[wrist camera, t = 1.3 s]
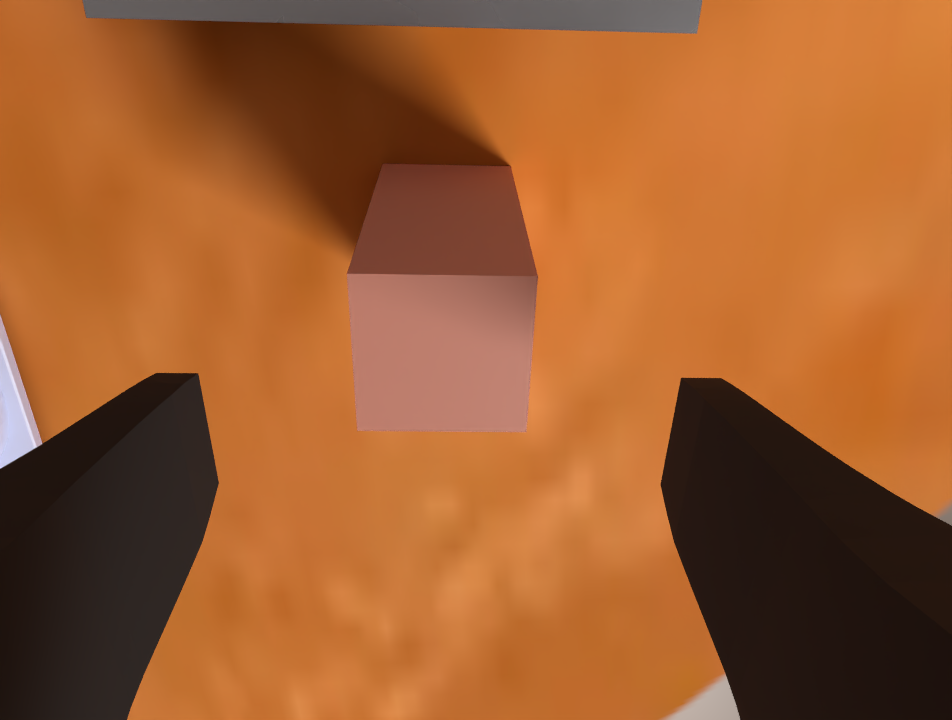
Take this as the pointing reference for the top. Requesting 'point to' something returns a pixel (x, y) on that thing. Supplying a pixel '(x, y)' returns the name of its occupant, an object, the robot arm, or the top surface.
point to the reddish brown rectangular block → (442, 302)
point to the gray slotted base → (423, 13)
